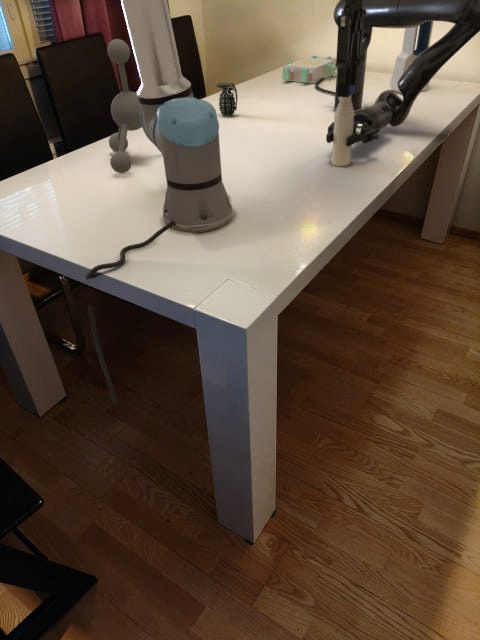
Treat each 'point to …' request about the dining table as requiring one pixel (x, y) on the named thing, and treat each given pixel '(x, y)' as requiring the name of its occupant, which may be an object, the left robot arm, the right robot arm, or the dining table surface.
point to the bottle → (342, 132)
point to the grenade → (227, 99)
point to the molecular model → (123, 109)
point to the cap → (352, 89)
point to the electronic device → (411, 51)
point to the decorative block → (309, 69)
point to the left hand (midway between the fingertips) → (346, 94)
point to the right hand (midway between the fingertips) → (337, 140)
